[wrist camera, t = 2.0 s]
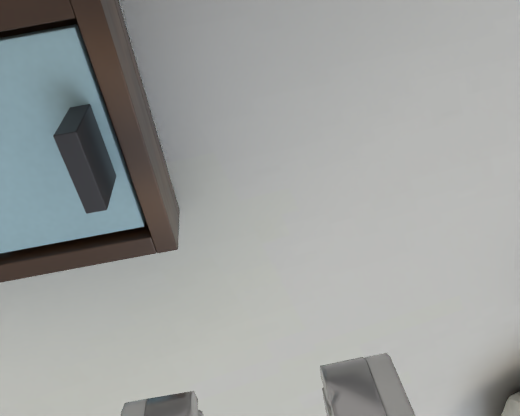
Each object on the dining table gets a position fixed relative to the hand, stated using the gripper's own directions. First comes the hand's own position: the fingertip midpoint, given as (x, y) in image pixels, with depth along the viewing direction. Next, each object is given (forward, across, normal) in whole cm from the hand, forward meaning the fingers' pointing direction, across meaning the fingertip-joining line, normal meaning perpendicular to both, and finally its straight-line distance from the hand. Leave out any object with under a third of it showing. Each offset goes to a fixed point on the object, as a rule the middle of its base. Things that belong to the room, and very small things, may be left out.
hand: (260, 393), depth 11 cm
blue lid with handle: (+16, +10, 0) cm, 19 cm away
